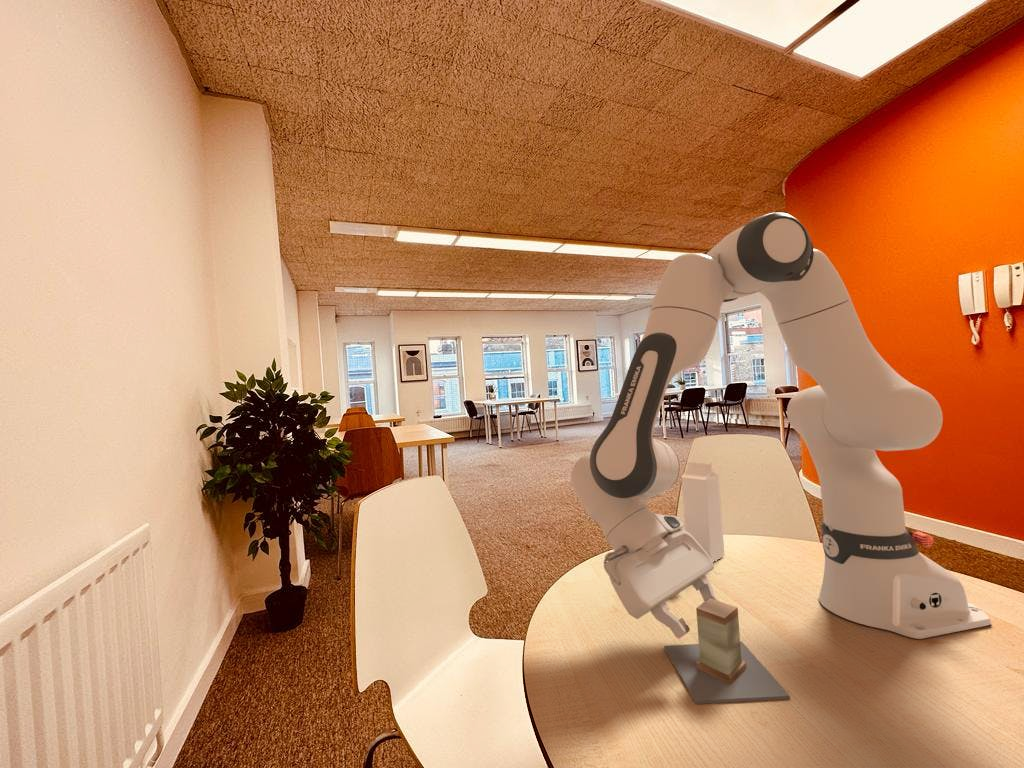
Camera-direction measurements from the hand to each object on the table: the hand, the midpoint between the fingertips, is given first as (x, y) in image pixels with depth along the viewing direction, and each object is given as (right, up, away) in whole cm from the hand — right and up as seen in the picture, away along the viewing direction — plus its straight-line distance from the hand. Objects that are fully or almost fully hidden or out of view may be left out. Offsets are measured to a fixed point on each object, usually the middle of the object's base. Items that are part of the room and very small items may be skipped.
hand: (701, 621), depth 63 cm
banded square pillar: (+2, -6, -2) cm, 6 cm away
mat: (+2, -6, -2) cm, 7 cm away
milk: (+18, -6, +38) cm, 42 cm away
